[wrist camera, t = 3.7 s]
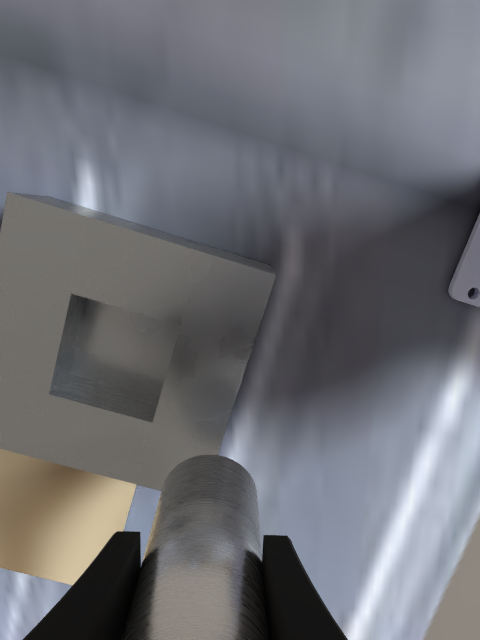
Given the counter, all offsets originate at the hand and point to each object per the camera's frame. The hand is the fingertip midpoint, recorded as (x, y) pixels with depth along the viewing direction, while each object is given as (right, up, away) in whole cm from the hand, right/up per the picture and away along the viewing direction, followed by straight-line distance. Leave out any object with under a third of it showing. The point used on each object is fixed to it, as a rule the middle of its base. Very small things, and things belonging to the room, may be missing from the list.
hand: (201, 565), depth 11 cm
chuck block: (-8, +7, +8) cm, 14 cm away
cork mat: (-9, -3, +11) cm, 14 cm away
